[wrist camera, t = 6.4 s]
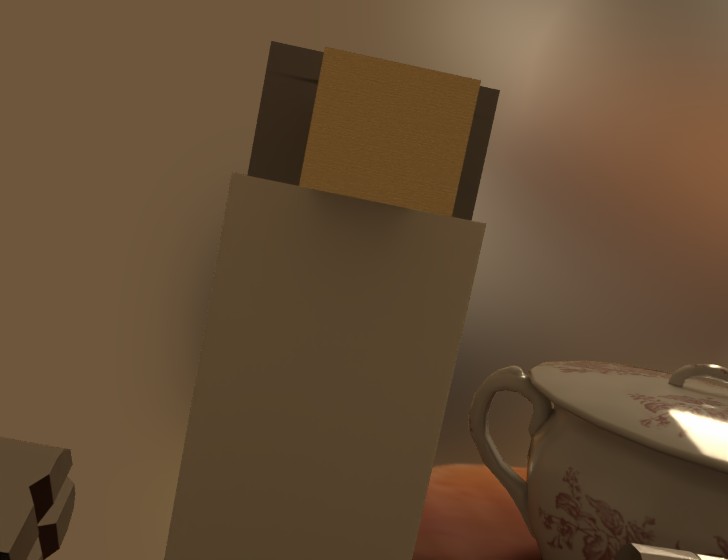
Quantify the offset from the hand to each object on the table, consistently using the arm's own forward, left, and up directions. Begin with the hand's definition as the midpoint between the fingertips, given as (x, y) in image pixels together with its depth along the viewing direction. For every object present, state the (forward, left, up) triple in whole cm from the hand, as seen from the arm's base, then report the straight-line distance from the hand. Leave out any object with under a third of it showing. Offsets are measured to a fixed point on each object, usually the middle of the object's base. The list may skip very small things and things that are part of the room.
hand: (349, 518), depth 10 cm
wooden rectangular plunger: (+19, 0, +5) cm, 19 cm away
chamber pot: (+42, -31, -24) cm, 57 cm away
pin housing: (+23, 0, -24) cm, 33 cm away
